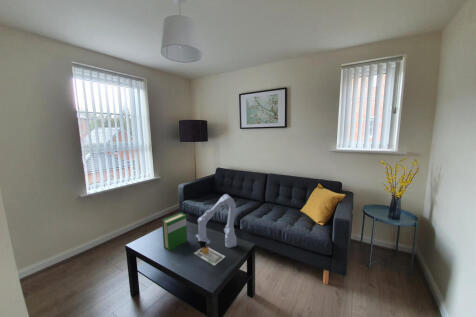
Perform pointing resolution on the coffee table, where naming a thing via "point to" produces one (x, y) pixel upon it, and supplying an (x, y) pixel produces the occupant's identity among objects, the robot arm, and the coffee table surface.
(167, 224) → the hardback book
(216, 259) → the white flat tray
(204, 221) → the robot arm
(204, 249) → the lever
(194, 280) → the coffee table surface
